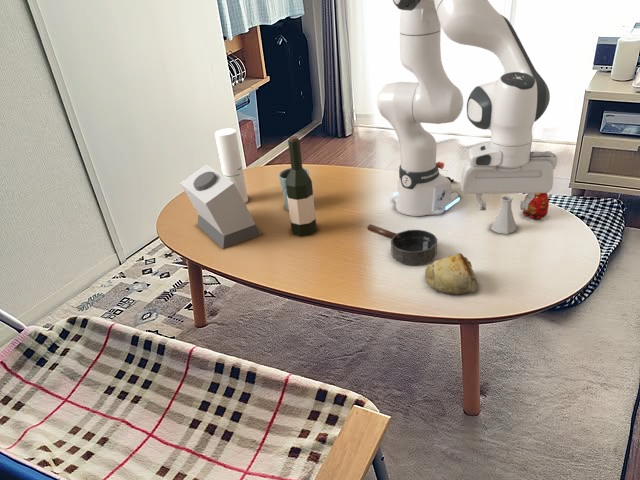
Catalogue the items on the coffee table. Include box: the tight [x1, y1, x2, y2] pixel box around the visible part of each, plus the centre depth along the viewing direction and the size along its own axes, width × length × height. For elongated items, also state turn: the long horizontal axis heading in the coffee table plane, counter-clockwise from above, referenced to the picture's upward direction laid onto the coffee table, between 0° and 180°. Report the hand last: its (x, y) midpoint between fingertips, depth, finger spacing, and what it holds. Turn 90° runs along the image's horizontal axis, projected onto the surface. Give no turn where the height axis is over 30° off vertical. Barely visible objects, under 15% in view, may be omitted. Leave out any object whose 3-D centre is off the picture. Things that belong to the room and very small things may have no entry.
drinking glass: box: [278, 167, 310, 211], centre depth 191 cm, size 10×10×12 cm
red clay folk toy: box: [522, 193, 550, 221], centre depth 170 cm, size 8×7×15 cm
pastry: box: [424, 252, 478, 296], centre depth 146 cm, size 14×12×8 cm
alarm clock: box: [179, 163, 262, 249], centre depth 178 cm, size 20×16×20 cm
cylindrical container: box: [214, 127, 249, 204], centre depth 194 cm, size 7×7×25 cm
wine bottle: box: [285, 135, 318, 238], centre depth 171 cm, size 8×8×30 cm
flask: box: [490, 195, 517, 235], centre depth 166 cm, size 7×7×10 cm
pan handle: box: [366, 223, 400, 241], centre depth 167 cm, size 12×2×2 cm, turn 44°
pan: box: [390, 229, 438, 266], centre depth 160 cm, size 13×13×4 cm
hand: (502, 209), depth 133 cm, fingers open, 8 cm apart
